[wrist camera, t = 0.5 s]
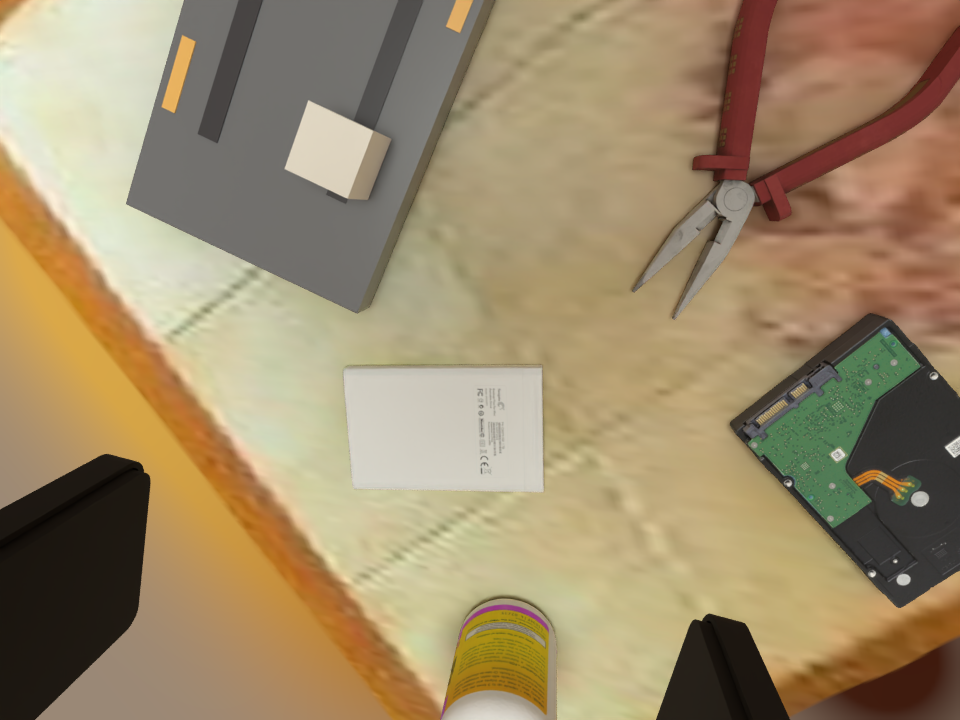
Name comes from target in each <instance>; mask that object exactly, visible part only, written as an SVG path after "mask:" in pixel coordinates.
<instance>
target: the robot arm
mask: <svg viewBox="0 0 960 720" xmlns="http://www.w3.org/2000/svg"><path fill="white" fill-rule="evenodd" d="M149 492H150V476H149V475H148V474H147V473H144V469H143V466H142V465H141V464H140V463H139V462H136V461H133V460H129V459H125V458H121V457H117V456H114V455H109V454H104V455H101V456H99V457H97V458H96V459H93V460H92V461H90V462H88V463H86V464H84V465H82V466H80V467H78V468H77V469H75V470H73V471H71V472H69V473H67V474H66V475H64V476H62V477H60V478H58V479H56V480H54V481H53V482H51V483H49V484H47V485H45V486H43V487H41V488H40V489H38V490H36V491H34V492H32V493H30V494H28V495H26V496H25V497H23V498H21V499H19V500H17V501H15V502H13V503H12V504H10V505H8V506H6V507H4V508H2V509H1V510H0V720H35V719H36V718H37V717H38V716H39V715H40V714H41V713H42V712H43V711H44V710H45V709H47V708H48V707H49V705H50V704H52V703H53V702H54V701H55V700H56V699H57V698H58V697H59V696H60V695H61V694H62V693H63V692H64V691H65V690H66V689H67V688H68V687H69V686H70V685H71V684H72V683H73V682H74V681H75V680H76V679H77V678H78V677H79V676H80V675H81V674H82V673H83V672H84V671H85V670H87V669H88V668H89V666H91V665H92V663H94V662H95V661H96V660H97V659H98V658H99V657H100V656H101V655H102V654H103V653H104V652H105V651H106V650H107V649H108V648H109V647H110V646H111V645H112V644H113V643H114V642H115V641H116V640H117V639H118V638H119V637H120V636H121V635H122V634H123V633H124V632H125V631H126V630H127V629H128V628H129V627H130V625H131V624H132V622H133V620H134V618H135V616H136V613H137V611H138V606H139V596H140V586H141V575H142V565H143V555H144V545H145V534H146V523H147V513H148V503H149ZM656 720H790V719H789V716H788V714H787V712H786V710H785V708H784V705H783V703H782V701H781V699H780V697H779V695H778V692H777V690H776V688H775V686H774V684H773V681H772V679H771V677H770V675H769V673H768V671H767V668H766V666H765V664H764V662H763V660H762V657H761V655H760V653H759V651H758V649H757V647H756V644H755V642H754V640H753V638H752V636H751V633H750V631H749V629H748V627H747V626H746V624H745V623H742V622H739V621H735V620H731V619H728V618H724V617H720V616H716V615H713V614H707V615H706V616H705V617H704V618H703V620H702V621H699V620H696V619H695V620H693V621H692V622H691V624H690V626H689V629H688V632H687V634H686V637H685V640H684V643H683V646H682V648H681V651H680V654H679V657H678V660H677V662H676V665H675V668H674V671H673V674H672V676H671V679H670V682H669V685H668V688H667V690H666V693H665V696H664V699H663V702H662V705H661V707H660V710H659V713H658V716H657V719H656Z"/></svg>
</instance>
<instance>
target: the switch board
mask: <svg viewBox="0 0 960 720" xmlns="http://www.w3.org/2000/svg"><path fill="white" fill-rule="evenodd" d="M494 2H495V0H184V2H183V6H182V9H181V13H180V16H179V20H178V23H177V27H176V30H175V34H174V37H173V41H172V44H171V48H170V51H169V55H168V58H167V62H166V65H165V69H164V72H163V76H162V79H161V83H160V86H159V90H158V93H157V97H156V100H155V104H154V107H153V111H152V114H151V118H150V121H149V125H148V128H147V132H146V135H145V139H144V142H143V146H142V149H141V153H140V156H139V160H138V163H137V167H136V170H135V174H134V177H133V181H132V184H131V188H130V191H129V195H128V198H127V202H126V204H127V205H129V206H131V207H133V208H135V209H138V210H140V211H142V212H144V213H146V214H148V215H150V216H152V217H154V218H157V219H159V220H161V221H163V222H165V223H167V224H169V225H171V226H173V227H175V228H178V229H180V230H182V231H184V232H186V233H188V234H190V235H192V236H194V237H197V238H199V239H201V240H203V241H205V242H207V243H209V244H211V245H213V246H216V247H218V248H220V249H222V250H224V251H226V252H228V253H230V254H232V255H235V256H237V257H239V258H241V259H243V260H245V261H247V262H249V263H251V264H254V265H256V266H258V267H260V268H262V269H264V270H266V271H268V272H270V273H273V274H275V275H277V276H279V277H281V278H283V279H285V280H287V281H289V282H292V283H294V284H296V285H298V286H300V287H302V288H304V289H306V290H308V291H311V292H313V293H315V294H317V295H319V296H321V297H323V298H325V299H327V300H330V301H332V302H334V303H336V304H338V305H340V306H342V307H344V308H346V309H349V310H351V311H353V312H355V313H359V312H361V311H363V310H365V309H367V308H369V307H370V305H371V302H372V300H373V297H374V295H375V292H376V290H377V287H378V285H379V283H380V280H381V278H382V275H383V273H384V270H385V268H386V265H387V263H388V261H389V258H390V256H391V253H392V251H393V248H394V246H395V243H396V241H397V239H398V236H399V234H400V231H401V229H402V226H403V224H404V222H405V219H406V217H407V214H408V212H409V209H410V207H411V204H412V202H413V200H414V197H415V195H416V192H417V190H418V187H419V185H420V182H421V180H422V178H423V175H424V173H425V170H426V168H427V165H428V163H429V160H430V158H431V156H432V153H433V151H434V148H435V146H436V143H437V141H438V138H439V136H440V134H441V131H442V129H443V126H444V124H445V121H446V119H447V117H448V114H449V112H450V109H451V107H452V104H453V102H454V99H455V97H456V95H457V92H458V90H459V87H460V85H461V82H462V80H463V77H464V75H465V73H466V70H467V68H468V65H469V63H470V60H471V58H472V55H473V53H474V51H475V48H476V46H477V43H478V41H479V38H480V36H481V33H482V31H483V29H484V26H485V24H486V21H487V19H488V16H489V14H490V12H491V9H492V7H493V4H494ZM308 100H309V101H311V102H313V103H315V104H318V105H320V106H322V107H324V108H327V109H329V110H331V111H333V112H335V113H337V114H340V115H342V116H344V117H346V118H348V119H350V120H352V121H354V122H357V123H359V124H361V125H363V126H365V127H367V128H369V129H371V130H374V131H376V132H378V133H380V134H382V135H384V136H386V137H388V138H391V142H390V144H389V147H388V149H387V152H386V155H385V157H384V160H383V162H382V165H381V167H380V170H379V172H378V175H377V178H376V180H375V183H374V185H373V188H372V190H371V193H370V196H369V198H368V200H360V199H347V198H345V197H343V196H341V195H339V194H336V193H334V192H332V191H330V190H328V189H326V188H324V187H322V186H319V185H317V184H315V183H313V182H311V181H309V180H307V179H305V178H303V177H300V176H298V175H296V174H294V173H292V172H290V171H288V170H286V169H285V166H286V163H287V160H288V157H289V154H290V152H291V149H292V146H293V143H294V140H295V137H296V134H297V132H298V129H299V126H300V123H301V120H302V117H303V114H304V111H305V109H306V106H307V103H308Z"/></svg>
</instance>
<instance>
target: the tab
mask: <svg viewBox="0 0 960 720" xmlns="http://www.w3.org/2000/svg"><path fill="white" fill-rule="evenodd" d="M390 142H391V138H388V137H386V136H384V135H382V134H380V133H378V132H376V131H374V130H371V129H369V128H367V127H365V126H363V125H361V124H359V123H357V122H354V121H352V120H350V119H348V118H346V117H344V116H342V115H340V114H337V113H335V112H333V111H331V110H329V109H327V108H324V107H322V106H320V105H318V104H315V103H313V102H311V101H309V100H308V103H307V106H306V109H305V111H304V114H303V117H302V120H301V123H300V126H299V129H298V132H297V134H296V137H295V140H294V143H293V146H292V149H291V152H290V154H289V157H288V160H287V163H286V166H285V169H286V170H288V171H290V172H292V173H294V174H296V175H298V176H300V177H303V178H305V179H307V180H309V181H311V182H313V183H315V184H317V185H319V186H322V187H324V188H326V189H328V190H330V191H332V192H334V193H336V194H339V195H341V196H343V197H345V198H347V199H360V200H368V198H369V196H370V193H371V190H372V188H373V185H374V183H375V180H376V178H377V175H378V172H379V170H380V167H381V165H382V162H383V160H384V157H385V155H386V152H387V149H388V147H389V144H390Z"/></svg>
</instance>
